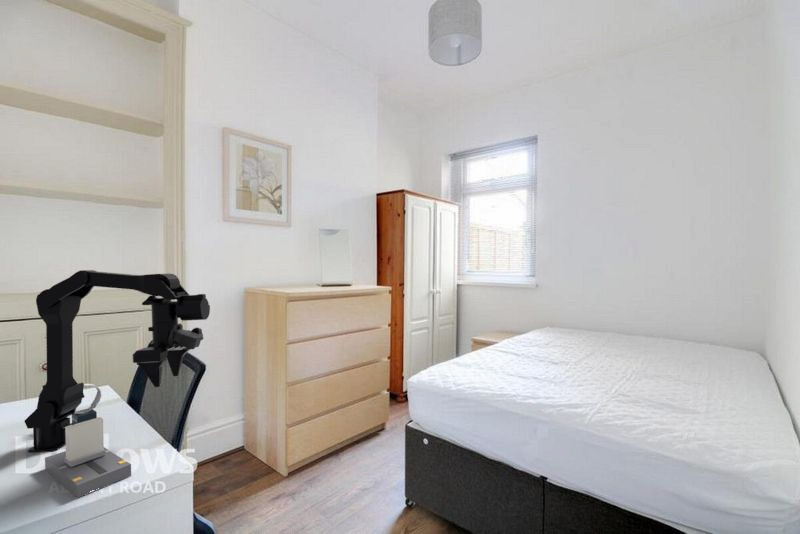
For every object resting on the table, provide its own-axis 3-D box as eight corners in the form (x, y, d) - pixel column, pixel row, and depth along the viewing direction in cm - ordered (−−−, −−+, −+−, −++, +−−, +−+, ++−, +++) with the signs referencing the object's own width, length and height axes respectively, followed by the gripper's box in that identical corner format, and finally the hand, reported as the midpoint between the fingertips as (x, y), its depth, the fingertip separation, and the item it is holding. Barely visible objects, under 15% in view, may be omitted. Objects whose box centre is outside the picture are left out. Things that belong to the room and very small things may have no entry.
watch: (63, 425, 106) (62, 387, 106) (98, 416, 112) (97, 379, 112) (68, 430, 102) (67, 390, 102) (104, 420, 109) (103, 383, 109)
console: (45, 468, 83) (44, 457, 83) (95, 451, 90) (94, 440, 90) (77, 498, 72) (77, 484, 72) (131, 475, 79) (131, 463, 79)
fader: (64, 461, 80) (63, 425, 80) (98, 450, 85) (97, 416, 85) (70, 467, 78) (70, 430, 78) (105, 454, 83) (104, 419, 83)
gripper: (180, 325, 88) (182, 391, 88) (211, 315, 107) (213, 369, 107) (130, 327, 87) (132, 394, 87) (171, 317, 105) (172, 372, 105)
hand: (167, 381), depth 97 cm, fingers open, 9 cm apart
